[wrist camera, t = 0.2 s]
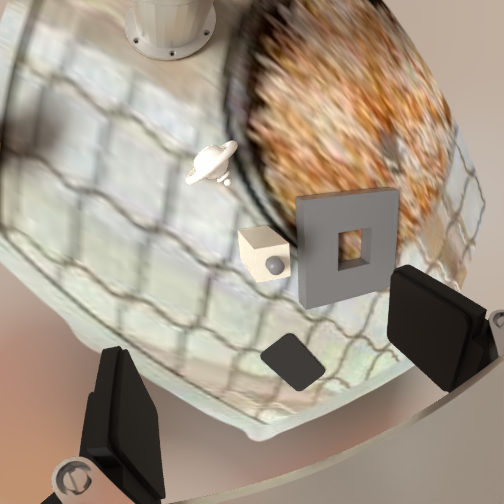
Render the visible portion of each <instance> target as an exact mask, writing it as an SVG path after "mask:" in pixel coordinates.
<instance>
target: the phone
mask: <svg viewBox="0 0 504 504" xmlns="http://www.w3.org/2000/svg"><path fill="white" fill-rule="evenodd" d="M260 357H261V359H262V360H263V361H264V362H265V363H266V364H267V365H268V366H269V367H270V368H271V369H272V370H274V371H275V372H276V373H277V374H278V375H279V376H280V377H281V378H283V379H284V380H285V381H286V382H287V383H288V384H289V385H290V386H292V387H293V388H294V389H295V390H296V391H302V390H304V389H305V388H306V387H308V386H309V385H310V384H312V383H313V382H314V381H316V380H317V379H318V378H320V377H321V376H322V375H323V374H324V373H325V369H324V368H323V367H322V365H321V364H319V362H318V361H317V360H316V359H315V358H314V357H313V356H312V355H311V354H310V353H309V352H308V351H307V349H306V348H305V347H304V346H303V345H302V344H301V343H300V342H299V341H298V340H297V338H296V337H295V336H294V335H293V334H291V333H288V334H286V335H284V336H283V337H281V338H280V339H279V340H278V341H276V342H275V343H274V344H272V345H271V346H270V347H269V348H267V349H266V350H265V351H263V352H262V353H261V355H260Z"/></svg>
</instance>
